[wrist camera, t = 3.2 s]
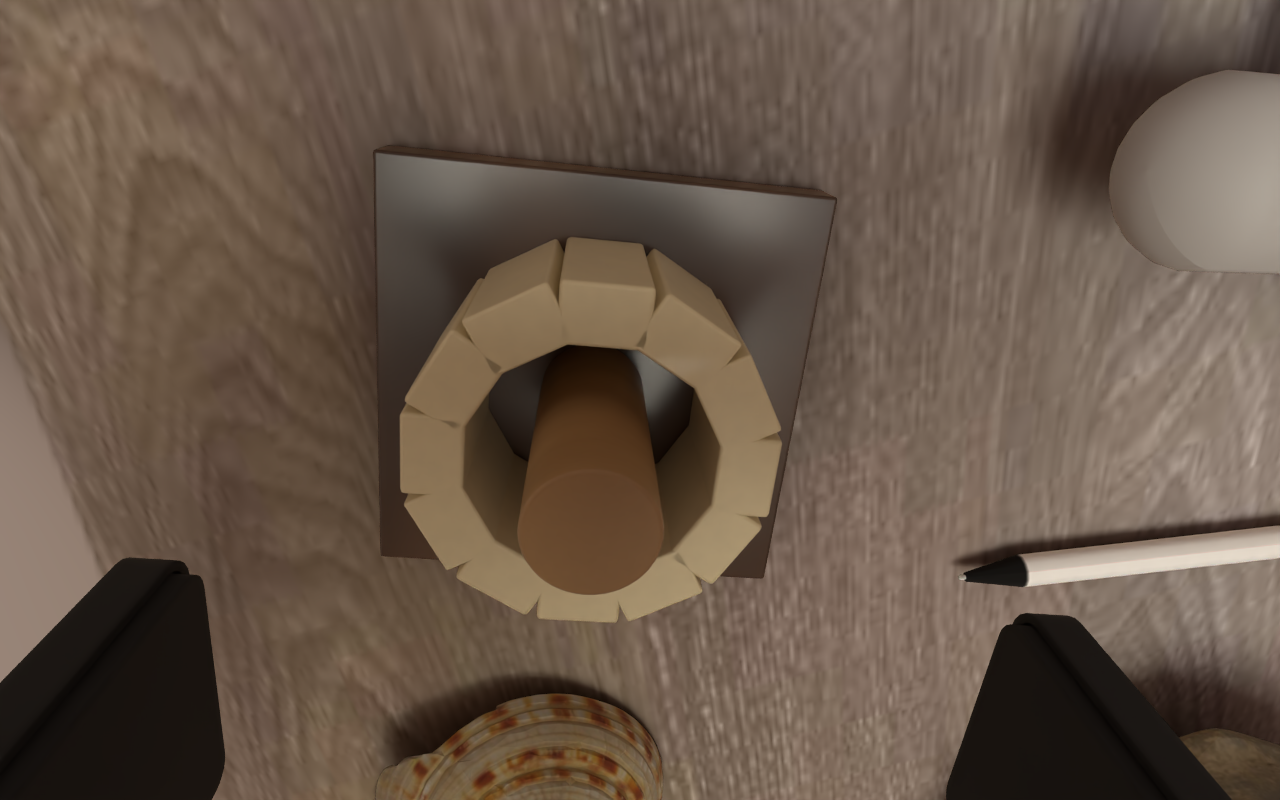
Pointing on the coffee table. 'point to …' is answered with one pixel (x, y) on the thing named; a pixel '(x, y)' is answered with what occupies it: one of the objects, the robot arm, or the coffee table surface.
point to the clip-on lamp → (1204, 176)
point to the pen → (1131, 558)
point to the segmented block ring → (494, 476)
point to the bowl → (1238, 762)
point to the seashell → (535, 756)
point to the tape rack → (583, 375)
